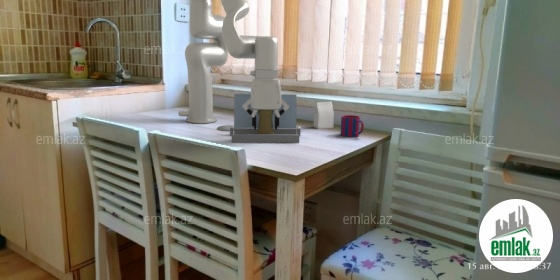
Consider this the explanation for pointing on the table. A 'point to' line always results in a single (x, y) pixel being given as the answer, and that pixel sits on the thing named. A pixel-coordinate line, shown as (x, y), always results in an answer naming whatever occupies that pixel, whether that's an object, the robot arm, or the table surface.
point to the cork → (265, 122)
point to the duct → (265, 135)
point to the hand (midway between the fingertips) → (265, 128)
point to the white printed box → (323, 115)
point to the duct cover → (245, 120)
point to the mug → (351, 126)
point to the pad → (224, 128)
